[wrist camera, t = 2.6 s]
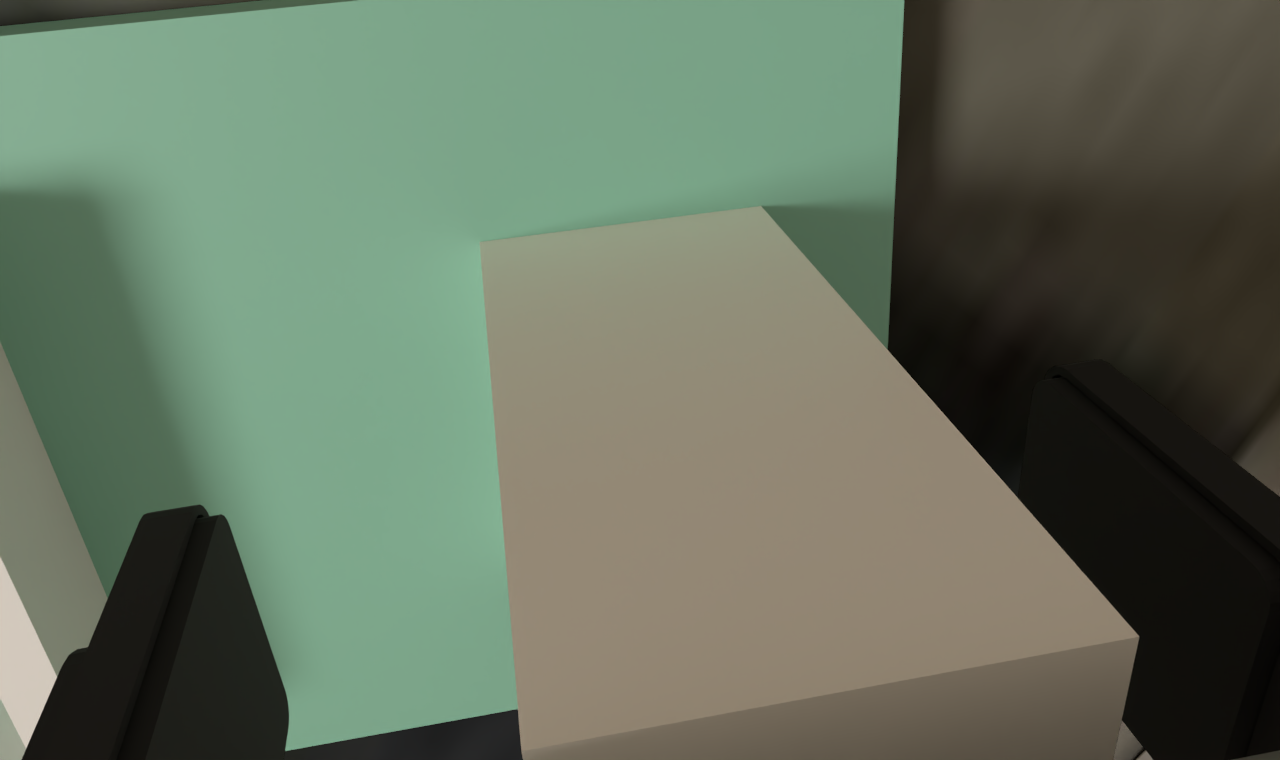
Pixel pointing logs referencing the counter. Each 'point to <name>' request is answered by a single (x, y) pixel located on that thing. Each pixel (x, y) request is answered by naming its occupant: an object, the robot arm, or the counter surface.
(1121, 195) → the counter surface
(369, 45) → the board
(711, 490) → the plug
